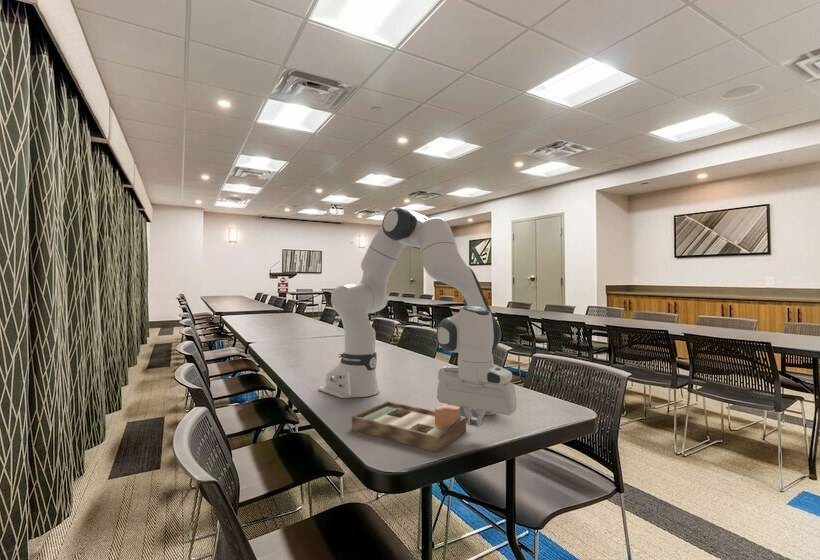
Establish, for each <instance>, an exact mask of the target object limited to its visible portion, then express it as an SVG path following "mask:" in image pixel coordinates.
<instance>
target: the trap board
mask: <svg viewBox="0 0 820 560" xmlns="http://www.w3.org/2000/svg"><path fill="white" fill-rule="evenodd" d="M351 430H352V431H356V432H359V433H363V434H367V435H371V436H374V437H378V438H382V439H386V440H390V441H394V442H397V443H401V444H405V445H408V446H412V447H416V448H420V449H424V450H426V451H427V450H428V451H431V452H435V453H439V452H440V451H441V450H442V449H444V448H446V447H447V446H448V445H449V444H450V443H451V442H453V441H454V440H456V438H458V437H459V436H460V435H461V434H463V433H464V432H465V431H466V430H467V419H466V417H463V416H460V419H459V420H458V421H456V422H455V423H454V424H452V425H451V426H449V427H444V426H439V425H435V409H434V410H433V409H430V408H429V409H428V408H423V407H419V406H413V405H408V404H405V403H398V402H394V401H388V400H387V401H385V402H382V403H380V404H378V405H375V406H373V407H371V408H369V409H366V410H364V411H362V412H359V413H357V414H355V415H353V416H351Z"/></svg>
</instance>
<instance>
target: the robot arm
mask: <svg viewBox="0 0 820 560" xmlns="http://www.w3.org/2000/svg"><path fill="white" fill-rule="evenodd" d="M408 246H409V247H412V248H414V249H418V250H419V251H420V256H421V261H422V266H423V268H424V270H425V273H426V274H427V275H428V276H430V277H431V278H432V279H434V280H435V281H437V282H440V283H443V284H445V285H449V286H451V287H453V288H454V289H456V290H458V292H460V293H461V294H462V296H463V297H464V300H465V302H466V304H467V305H465V306H463V307H461V308H460V310H459V311H458V313H456V314H455V315H452V316H449V317H445V318H443V319H442V320H441V321H440V322H439V324H438V326H437V328H436V340H437V344H438V345H439V347H440V348H441V349H442V350H443V351H444V352H447V353H448V352H449V353H458V355H457V356H458V357H457V367H449V366H443V367H441V368H439V370H438V374H437V375H438V376H437V378H438V384H437V391H436V399H437V401H438V402H439V403H442V404H446V405H447V404H451V405H456V406H462V407H464V412H465V414H466V416H467V418H468V419H467V425H468V426H471V427H475V428H481V427H482V420H483V418H484V417H485V416H486V415H485V413H486V411H488V412H493V413H495V414H499V415H504V416H512V415H513V414H514V413H515V412H516V410H517V393H516V389H515V385H514V383H512V379H513V372H512V371H510V370H508V369H506V368H504V367H502V366H500V365H498V364H495V363H494V356H493V351H494V350H495V349H496V348H497V347H498V345H499V344H500V341H501V339H502V330H501V326H500V324H499V322H498V320H497V319H496V318H495V316H494V314H493V312H492V310H491V307H490V306H489V304H488V301H487V299H486V297H485V294H484V291H483V289H482V288H481V287H482V286H481V285H480V282H479V280H478V278H477V276H476V273H475V272H474V270H473V269H472V268H471V267H470V266H468V264H467V263H466V262H465V261H464V259H463V258H462V257H461V255H460V252H459V250H458V247H457V246H458V245H457V242H456V239H455V236H454V234H453V231H452V228H451V227H450V225H449V223H448V222H447V220H446V219H444V218H442V217H430V218H429V217H428V216H427V215H424V214H422V213H420V212H416V211H414V210H409V209H407V208H405V207H401V206H394V207H391V208H390V209H388V210H387V212H386V213H385V214H384V216H383V220H382V225H381V226H380V228H379V229H378V230H377V231H376V233H375V235H374V237H373V238H372V240H371V242H370V244H369V246H368V248H367V250H366V253H365V254H364V257H362V260H361V262H360V267H361V270H362V278H361V281H360V282H359V283H345V284H342V285H339V286H337V287H336V288H334V290H333V291H332V293H331V296H330V303H331V306H332V308H333V309H334V311H335V312H336V313H337V314H338V316H339V317H340V320H341V322H342V326H343V332H344V352H343V353H340V354H338V358H339V359H340V358H341V359H340V362H339V363H338V364H337V365H336V366H334V367H333V368H331V370H329V371H328V372H327V373H326V377H325V381H324V382H325V383H324V384H322V385H320V386H319V387H318V391H320V392H323V393H326V394H328V395H331V396H335V397H337V398H341V399H350V398H365V397H370V396H375V395H377V394H379V393H380V389H379V385H378V383H379V382H378V379H377V378H378V377H377V369H376V368H377V367H376V366H377V352H376V338H377V336H376V335H377V333H376V330H375V328H374V327H373V326H372V325H371V322H370V320H369V319H370V318H369V315H368V314H374V313H377V312H379V311H381V310H383V309H384V308H385V307H386V306H387V305H388V301H389V297H388V293H387V288H388V282H389V279H390V276H392V273H393V270H394V269H395V267H396V264H397V262H398V260H399V258H400V256H401V254H402V253H403V252H402V251H404V249H405V248H406V247H408ZM472 409H477V410H478V414H479V416H478V418H475V417H473V415H472V413H471V410H472Z"/></svg>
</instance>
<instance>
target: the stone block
mask: <svg viewBox="0 0 820 560" xmlns="http://www.w3.org/2000/svg"><path fill="white" fill-rule="evenodd" d="M446 405H451V404H446ZM451 406H456V405H451ZM456 407H460V416H463V417H466V420H468V418H467V416H466V414H465V412H464V407H462V406H456ZM471 413H472V415H473V417H475V418H478V417H479V415H480V414H478V410H477V409H472V410H471Z"/></svg>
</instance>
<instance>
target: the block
mask: <svg viewBox="0 0 820 560" xmlns="http://www.w3.org/2000/svg"><path fill="white" fill-rule="evenodd" d="M434 411H435V425H439V426H444V427H449V426H451V425H452V424H454V423H455V422H456V421H458V420H459V419H460V407H456V406H451V405H447V404H446V403H442V404H441V405H440V406H437V407H436V408H434Z"/></svg>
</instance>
